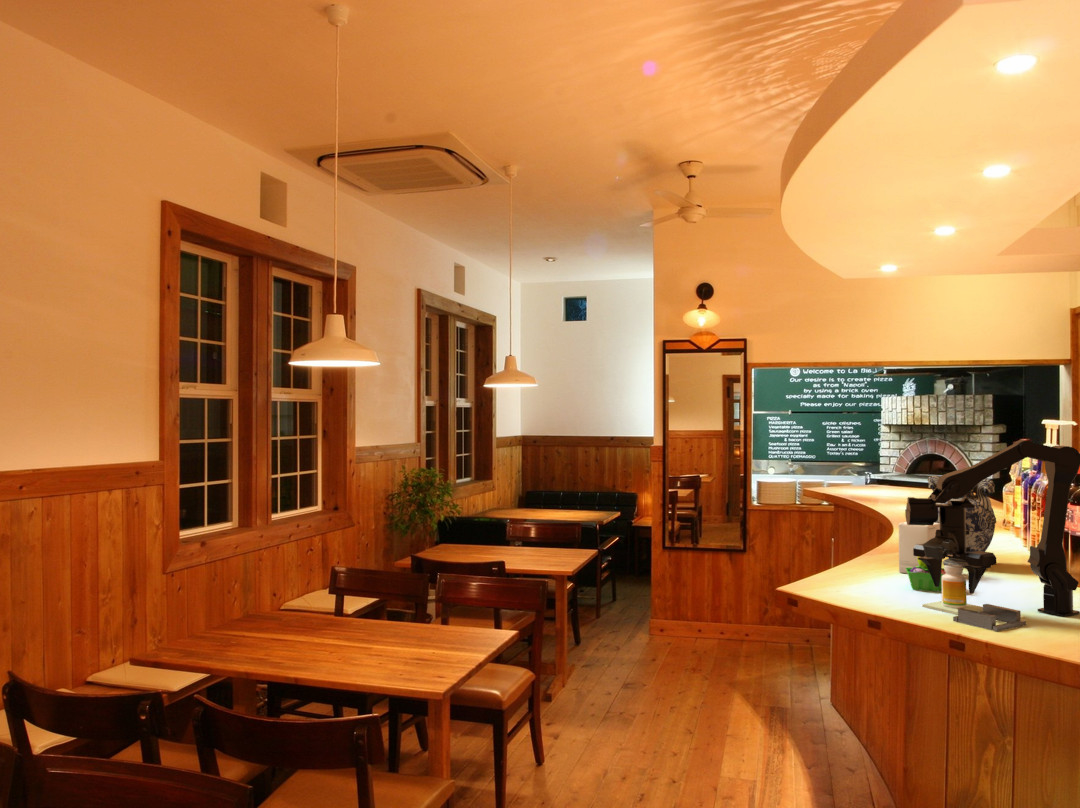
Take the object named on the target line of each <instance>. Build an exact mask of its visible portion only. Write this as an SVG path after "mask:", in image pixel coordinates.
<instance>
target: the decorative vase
mask: <svg viewBox="0 0 1080 808" xmlns="http://www.w3.org/2000/svg"><path fill="white" fill-rule="evenodd" d="M939 477H940V476H938V475H932V476H928V478H927V484H928V489H931V490H932V492H933V491H934V490H935V489H936V487H937V481H938V479H939ZM995 486H996V484H995V483H994V481H993V480H990V479H989V478H986V479H984V480H982V481H981V482H980V483H978V484H977V485H976V486H975V488H974V489H972V490H971V491H970V492H968V493H967V494H966V495H964V496H963V497H962V498H959V499H951V500H959V501H961V500H962V499H963V498H964V497H966V498H968V500H969V501H970V502H971V503H972V504H973V505H975V507H974V508H965V514H966V530H969V535H966V547H970V551H968V552H975V551H984V552H987V550H988V548H989V546H990V545H991V543H992V540H993V537H994V535H995V528H996V524H997V517H996V515H995V512H994V509H993V507H992V503H991V499H990V497H989V496H990V495H991V494H995ZM974 492H975V494H974ZM947 503H948V502H946V503H936V504H947ZM934 523H940V519H939V508H938V521H936V522H934ZM968 552H966V553H968ZM957 556H960V555H957ZM942 565H944V566H945V565H959V566H962V567H963V569H966V567H965V566H968V565H969V564H968V563H967V562H966V560H961V559H955V558H945V560H942Z"/></svg>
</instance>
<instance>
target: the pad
mask: <svg viewBox="0 0 1080 808" xmlns="http://www.w3.org/2000/svg"><path fill="white" fill-rule="evenodd" d="M921 606H922V608H926V609H931V610H935V611H940V612H942V613H943V612H944V613H948V614H952V615H955V616H958V609H961V608H950V607H946V606H943V605H942V600H939V601H935V602H934V601H933V602H928V603H923V604H922V605H921ZM963 609H968V610H972V611H977V612H981V611H983V606H979V605H976V604H971V603H967V606H966V607H965V608H963Z"/></svg>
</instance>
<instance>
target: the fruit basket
mask: <svg viewBox="0 0 1080 808" xmlns="http://www.w3.org/2000/svg"><path fill="white" fill-rule="evenodd" d="M917 560H918V564H919V566H916V567H913V568H906V571H907V573H908V574H907V576H908V579H909V582H910V586H911V589H912V590H913V591H925V592H942V582H941V579H940V585H939V587H935V585H934V582H933V580H932V577H931V575H930V572H929V570H928V568H927V566H926V564H925V563H923V562H922V561H921V560H919V559H918V558H917ZM945 573H946V572H945V570H944V568H943V567H942V568H941V578H942V575H943V574H945Z"/></svg>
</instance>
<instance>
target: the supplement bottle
mask: <svg viewBox="0 0 1080 808" xmlns="http://www.w3.org/2000/svg"><path fill="white" fill-rule="evenodd" d="M963 569H964V568H963V567H962V566H959V565H944V570H945V572H946V573H945V574H943V575H942V578H941V582H942V591H941V601H942V605H943V606H946V607H950V608H965V607H966V606H967V604H968V603H967V599H968V598H967V578H966V575H964V574H963V572H964V571H963Z"/></svg>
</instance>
